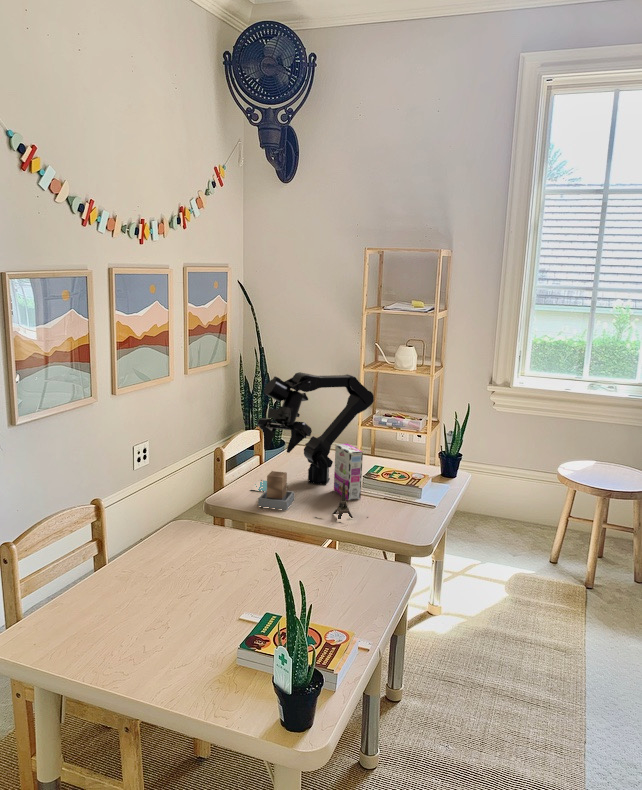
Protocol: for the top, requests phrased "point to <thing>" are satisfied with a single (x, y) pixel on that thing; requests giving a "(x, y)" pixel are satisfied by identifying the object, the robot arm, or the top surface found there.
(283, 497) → the block
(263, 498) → the crate
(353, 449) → the candy bar box
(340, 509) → the eiffel tower figurine
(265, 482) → the mat
